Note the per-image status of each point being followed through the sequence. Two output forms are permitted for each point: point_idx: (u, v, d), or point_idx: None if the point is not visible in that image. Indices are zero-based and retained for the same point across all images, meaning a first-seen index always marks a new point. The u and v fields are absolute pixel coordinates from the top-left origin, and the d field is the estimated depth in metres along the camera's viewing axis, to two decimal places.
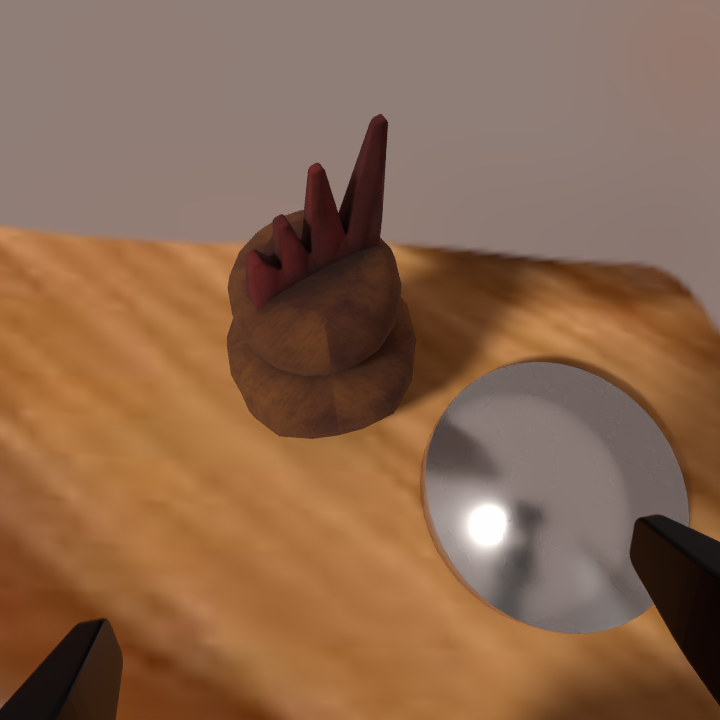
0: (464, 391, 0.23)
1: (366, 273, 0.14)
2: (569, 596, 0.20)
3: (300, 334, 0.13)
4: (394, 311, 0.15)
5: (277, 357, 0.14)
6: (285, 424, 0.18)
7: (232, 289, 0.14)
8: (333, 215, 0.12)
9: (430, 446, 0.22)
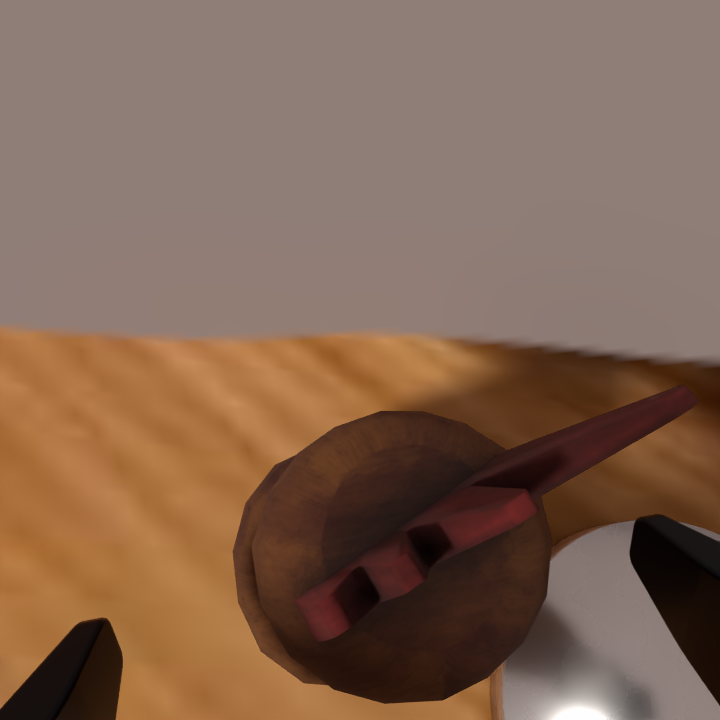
0: (550, 566, 0.17)
1: (515, 563, 0.07)
2: None
3: (395, 688, 0.07)
4: None
5: (338, 688, 0.08)
6: None
7: (264, 572, 0.08)
8: None
9: None
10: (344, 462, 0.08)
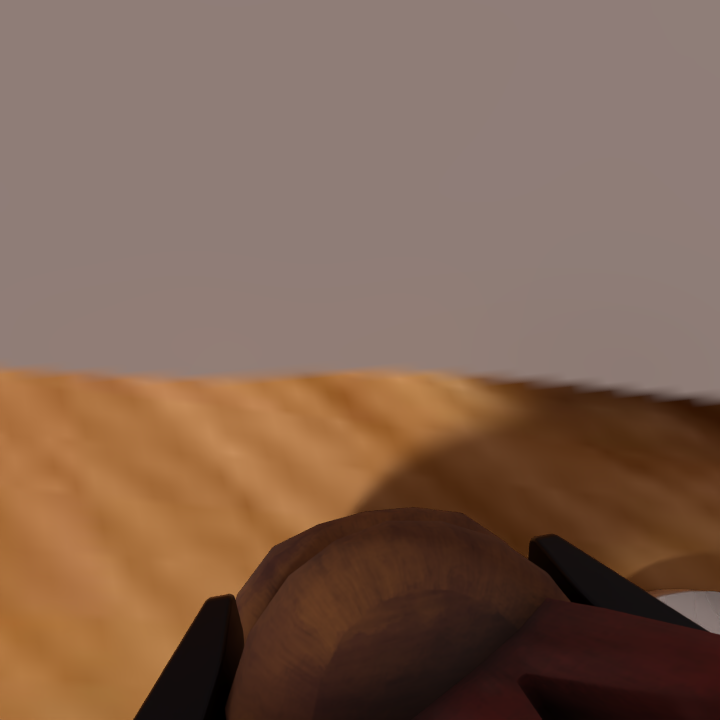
0: None
1: None
2: None
3: None
4: None
5: None
6: None
7: None
8: None
9: None
10: (342, 614, 0.06)
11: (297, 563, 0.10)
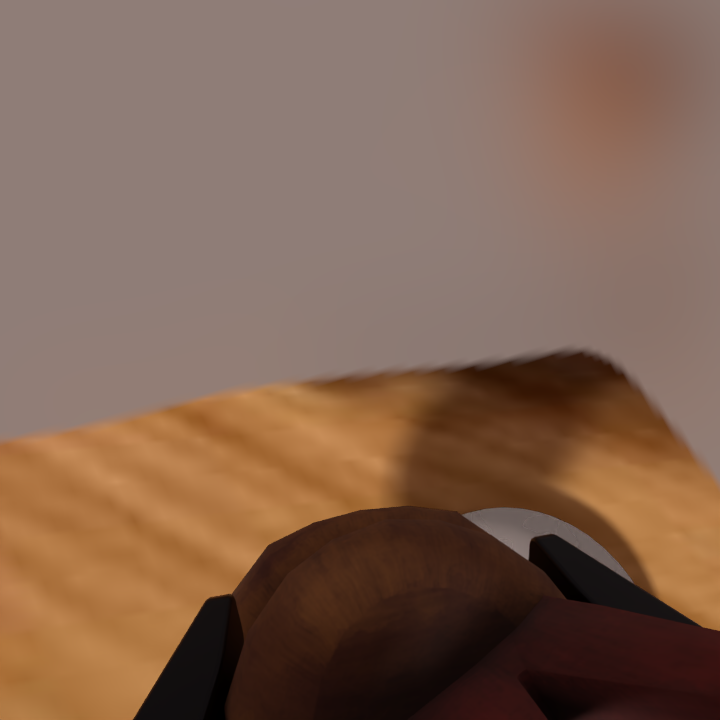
0: None
1: None
2: None
3: None
4: None
5: None
6: None
7: None
8: None
9: None
10: (343, 612, 0.06)
11: (293, 562, 0.10)
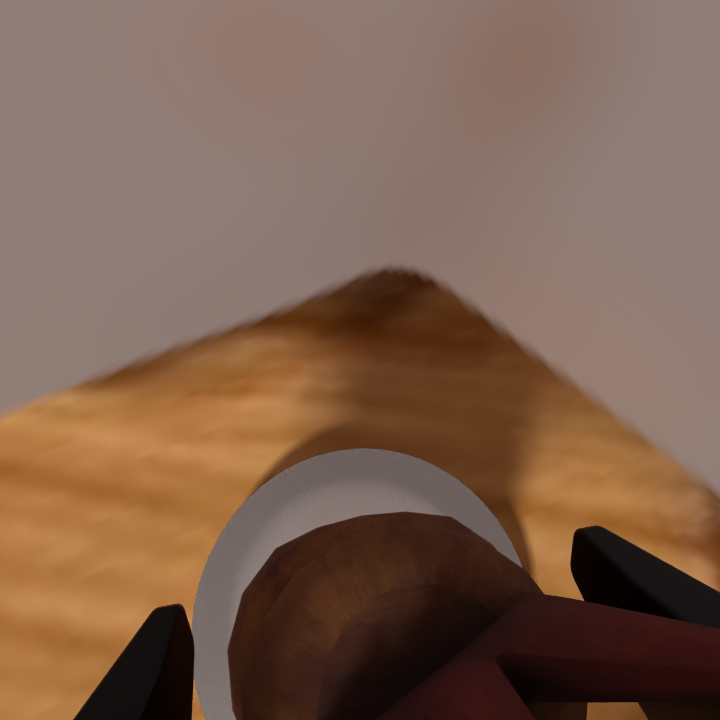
0: (210, 559, 0.17)
1: None
2: None
3: None
4: None
5: None
6: None
7: None
8: None
9: None
10: (345, 605, 0.07)
11: (298, 564, 0.11)
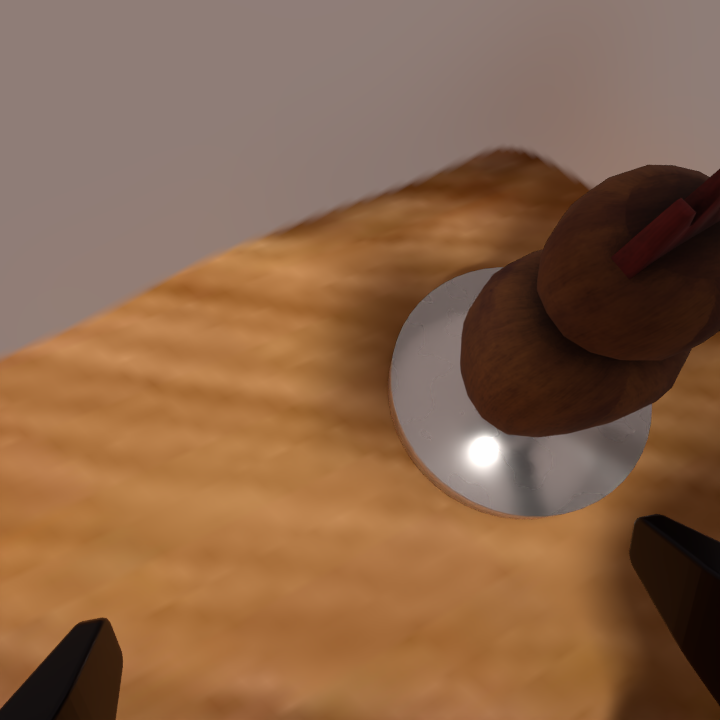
0: (398, 341, 0.22)
1: None
2: (581, 470, 0.21)
3: (682, 307, 0.11)
4: None
5: (623, 337, 0.12)
6: (547, 418, 0.16)
7: (579, 254, 0.12)
8: None
9: (395, 407, 0.21)
10: (628, 184, 0.12)
11: (528, 259, 0.16)
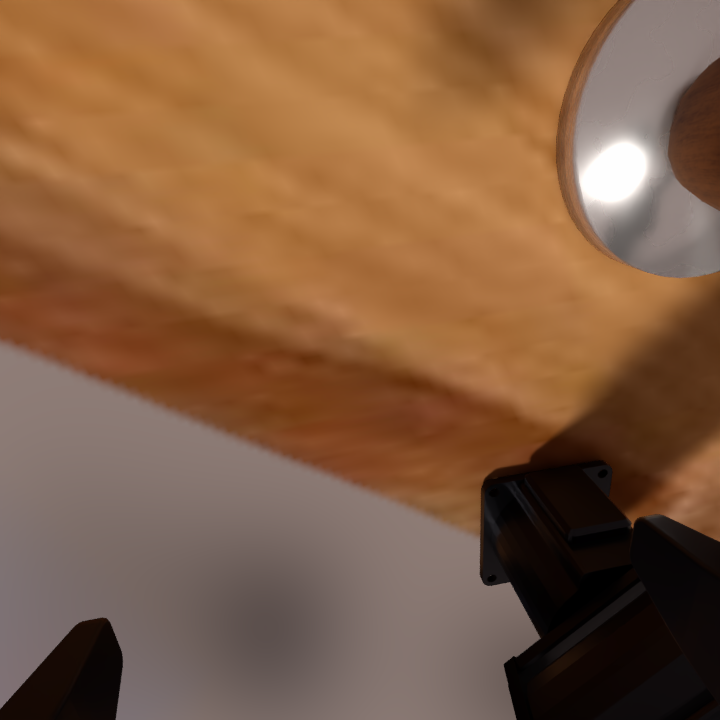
0: (638, 3, 0.16)
1: None
2: (704, 244, 0.20)
3: None
4: None
5: None
6: None
7: None
8: None
9: (586, 97, 0.17)
10: None
11: None
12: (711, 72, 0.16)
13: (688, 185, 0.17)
